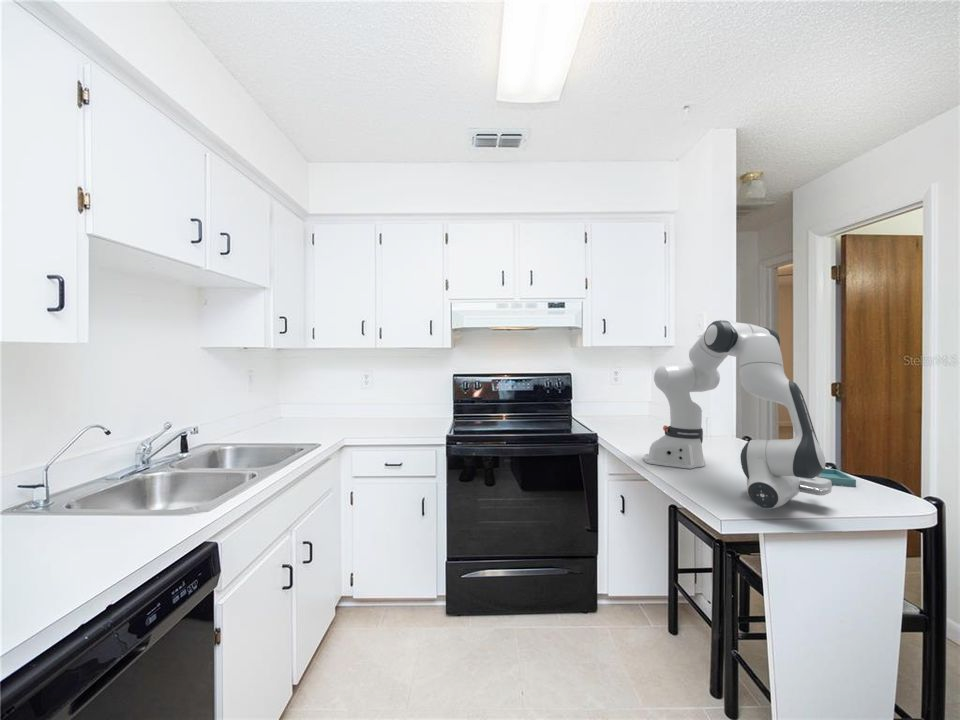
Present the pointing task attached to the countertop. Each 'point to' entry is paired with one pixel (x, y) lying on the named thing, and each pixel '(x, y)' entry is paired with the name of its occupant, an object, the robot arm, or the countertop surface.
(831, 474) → the tray
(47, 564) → the countertop surface
